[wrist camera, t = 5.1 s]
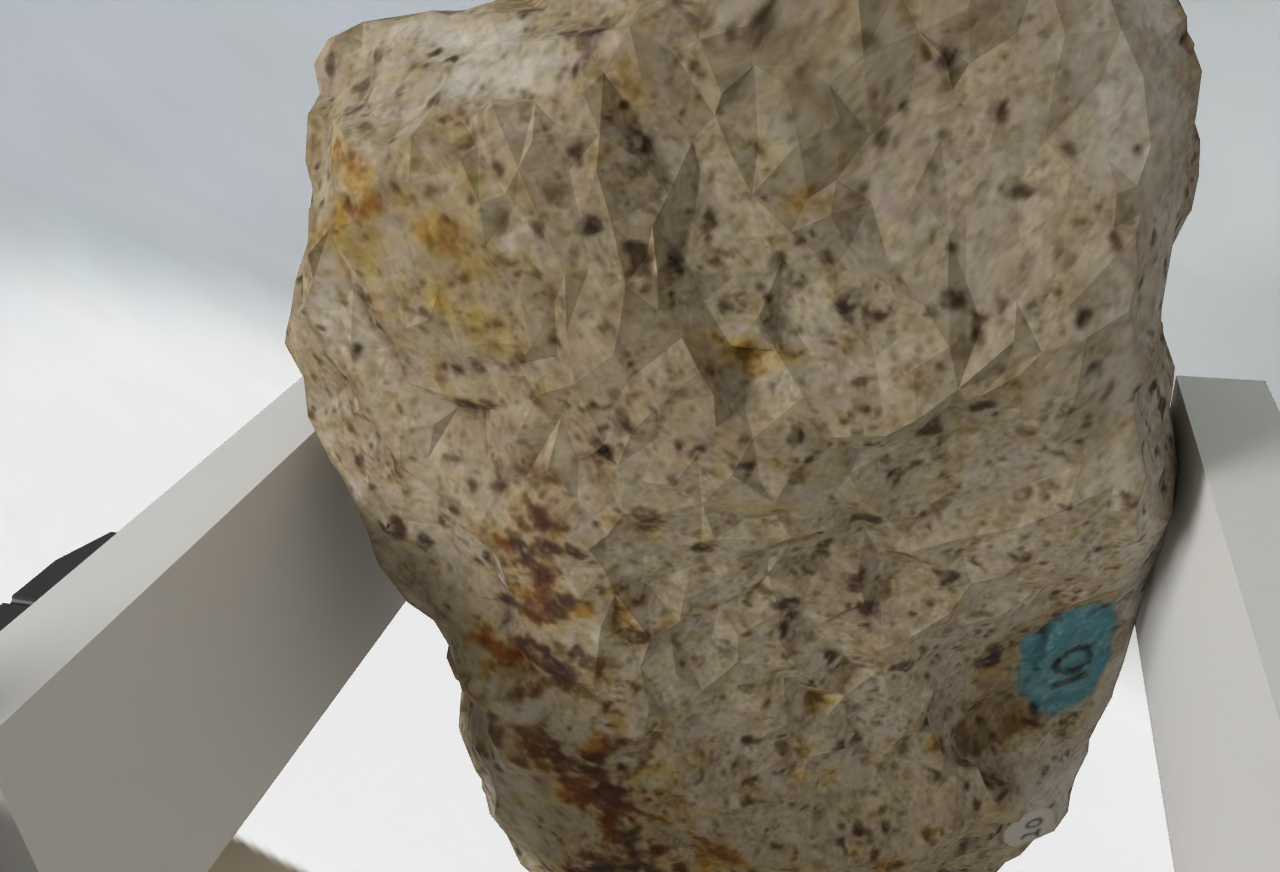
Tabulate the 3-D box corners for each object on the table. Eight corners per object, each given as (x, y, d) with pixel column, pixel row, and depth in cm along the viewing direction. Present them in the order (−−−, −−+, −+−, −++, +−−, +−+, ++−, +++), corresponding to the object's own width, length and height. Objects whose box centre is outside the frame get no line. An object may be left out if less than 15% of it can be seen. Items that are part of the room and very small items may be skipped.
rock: (563, 734, 16) (436, 1012, 13) (348, -109, 11) (30, -51, 7) (1137, 781, 14) (1185, 1140, 10) (1206, -263, 9) (1352, -290, 5)
